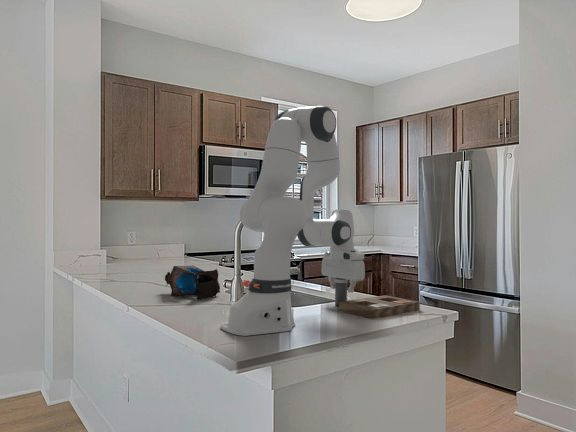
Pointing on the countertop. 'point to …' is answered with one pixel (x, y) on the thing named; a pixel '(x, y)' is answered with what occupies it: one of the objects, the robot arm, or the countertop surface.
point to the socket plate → (379, 306)
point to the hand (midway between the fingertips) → (342, 290)
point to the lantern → (193, 282)
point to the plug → (340, 290)
